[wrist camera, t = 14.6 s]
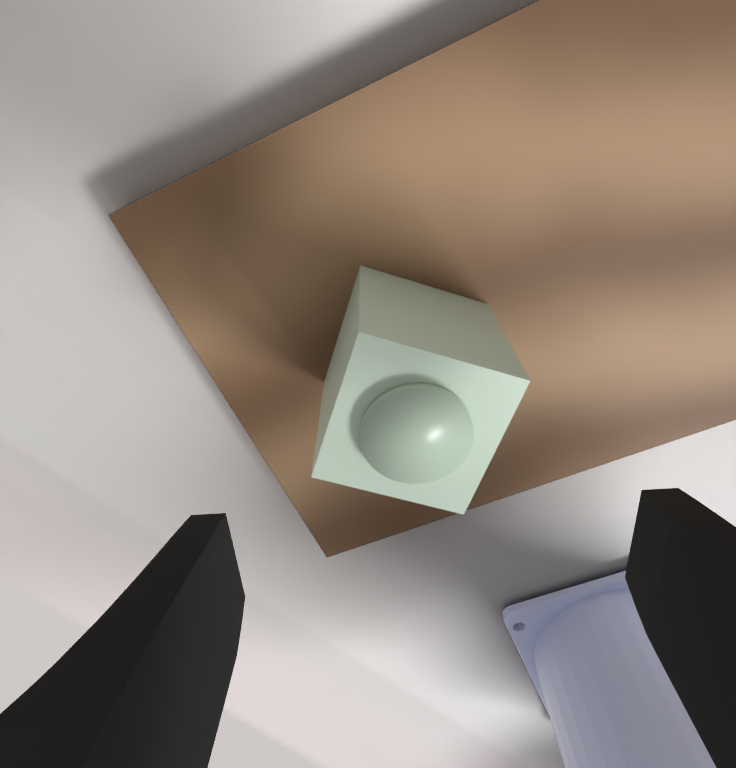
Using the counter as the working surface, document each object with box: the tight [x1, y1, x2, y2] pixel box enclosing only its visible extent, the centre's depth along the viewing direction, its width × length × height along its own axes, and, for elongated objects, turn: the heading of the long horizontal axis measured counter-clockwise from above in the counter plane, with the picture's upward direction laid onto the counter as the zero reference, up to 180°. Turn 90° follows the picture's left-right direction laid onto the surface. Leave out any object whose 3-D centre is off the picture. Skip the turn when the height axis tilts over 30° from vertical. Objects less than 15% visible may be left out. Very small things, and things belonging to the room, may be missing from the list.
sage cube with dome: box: [311, 265, 530, 515], centre depth 15 cm, size 4×4×5 cm
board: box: [108, 0, 736, 557], centre depth 18 cm, size 14×20×1 cm
